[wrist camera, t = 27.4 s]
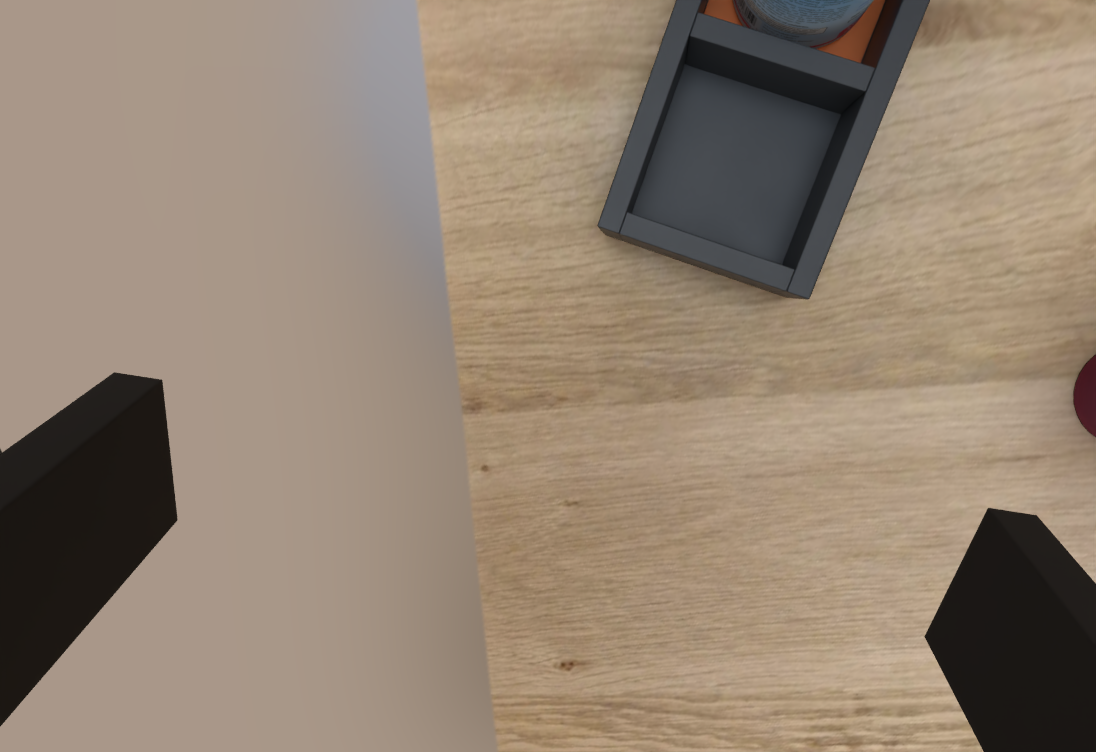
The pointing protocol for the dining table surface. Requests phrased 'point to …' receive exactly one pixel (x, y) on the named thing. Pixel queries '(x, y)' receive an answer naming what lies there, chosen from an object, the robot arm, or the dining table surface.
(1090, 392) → the cup
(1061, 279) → the dining table surface
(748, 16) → the pill bottle
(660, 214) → the holder
